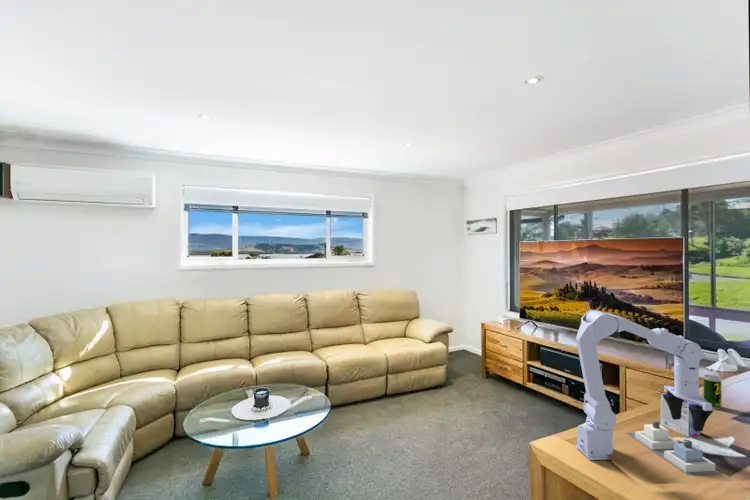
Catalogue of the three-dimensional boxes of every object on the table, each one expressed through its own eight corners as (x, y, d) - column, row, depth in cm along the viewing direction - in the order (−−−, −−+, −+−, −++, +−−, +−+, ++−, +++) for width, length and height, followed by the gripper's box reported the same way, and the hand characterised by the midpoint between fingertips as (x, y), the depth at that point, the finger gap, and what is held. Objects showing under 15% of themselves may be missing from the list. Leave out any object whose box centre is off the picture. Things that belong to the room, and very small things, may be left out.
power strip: (687, 480, 104) (687, 467, 104) (625, 437, 128) (625, 426, 128) (722, 479, 105) (722, 466, 105) (654, 436, 129) (654, 425, 129)
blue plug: (685, 468, 107) (685, 445, 107) (673, 460, 111) (673, 438, 111) (702, 467, 108) (702, 444, 108) (690, 459, 112) (690, 437, 112)
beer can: (700, 405, 153) (700, 375, 153) (707, 403, 155) (706, 373, 155) (717, 410, 148) (717, 379, 148) (724, 407, 150) (723, 377, 150)
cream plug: (653, 446, 119) (653, 425, 119) (643, 439, 123) (643, 419, 123) (668, 445, 120) (668, 424, 120) (658, 439, 124) (658, 419, 124)
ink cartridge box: (701, 439, 126) (701, 396, 126) (689, 442, 125) (689, 398, 125) (671, 426, 136) (671, 385, 136) (659, 428, 134) (659, 387, 134)
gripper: (722, 388, 108) (722, 436, 108) (678, 371, 122) (679, 413, 122) (698, 388, 107) (698, 436, 107) (657, 372, 122) (658, 414, 122)
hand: (686, 424), depth 115 cm, fingers open, 7 cm apart
